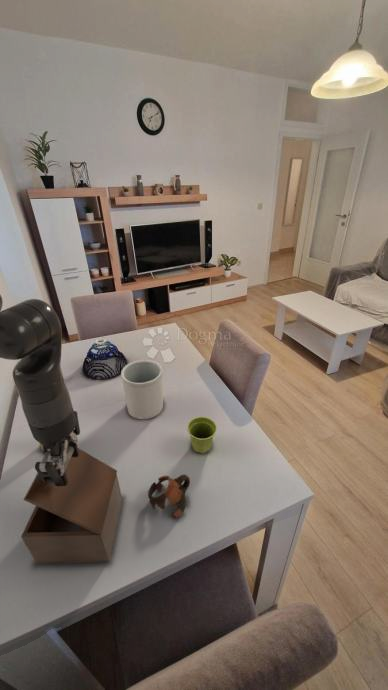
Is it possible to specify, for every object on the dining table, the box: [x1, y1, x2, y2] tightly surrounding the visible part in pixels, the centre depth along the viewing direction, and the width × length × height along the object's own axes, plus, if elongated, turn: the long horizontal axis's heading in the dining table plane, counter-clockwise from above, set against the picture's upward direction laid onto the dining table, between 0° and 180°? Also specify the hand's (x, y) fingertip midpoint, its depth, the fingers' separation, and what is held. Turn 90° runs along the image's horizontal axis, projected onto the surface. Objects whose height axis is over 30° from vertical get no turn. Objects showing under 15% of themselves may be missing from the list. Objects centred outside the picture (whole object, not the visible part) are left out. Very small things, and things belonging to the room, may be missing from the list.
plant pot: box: [186, 416, 218, 454], centre depth 90 cm, size 9×9×9 cm
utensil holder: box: [120, 359, 164, 420], centre depth 104 cm, size 15×15×18 cm
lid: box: [22, 446, 118, 535], centre depth 60 cm, size 18×15×6 cm
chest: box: [20, 474, 123, 564], centre depth 67 cm, size 17×15×12 cm
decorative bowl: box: [82, 338, 128, 381], centre depth 128 cm, size 20×20×14 cm
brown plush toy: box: [147, 474, 191, 519], centre depth 75 cm, size 12×10×8 cm
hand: (68, 469), depth 58 cm, fingers closed on lid, 6 cm apart
